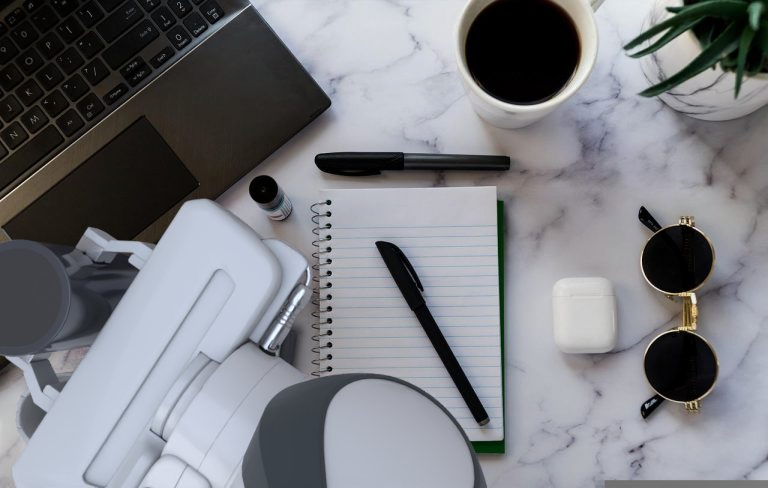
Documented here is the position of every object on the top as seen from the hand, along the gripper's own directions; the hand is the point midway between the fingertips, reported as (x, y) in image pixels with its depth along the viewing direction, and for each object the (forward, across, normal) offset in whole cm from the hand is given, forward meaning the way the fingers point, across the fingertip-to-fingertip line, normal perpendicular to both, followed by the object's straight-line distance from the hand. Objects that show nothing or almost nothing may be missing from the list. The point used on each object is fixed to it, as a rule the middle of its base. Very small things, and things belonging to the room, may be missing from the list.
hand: (51, 290), depth 39 cm
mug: (+2, +15, +29) cm, 33 cm away
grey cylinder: (-1, 0, +6) cm, 6 cm away
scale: (-8, +3, +29) cm, 30 cm away
